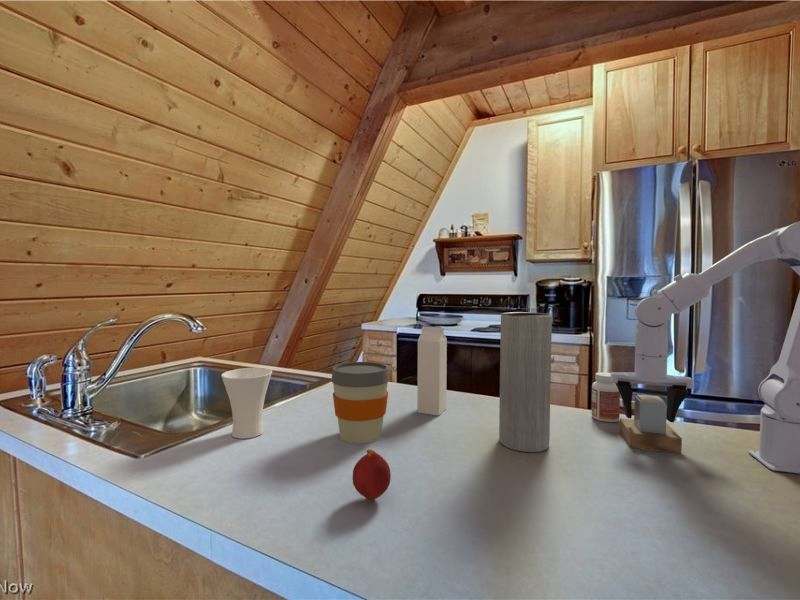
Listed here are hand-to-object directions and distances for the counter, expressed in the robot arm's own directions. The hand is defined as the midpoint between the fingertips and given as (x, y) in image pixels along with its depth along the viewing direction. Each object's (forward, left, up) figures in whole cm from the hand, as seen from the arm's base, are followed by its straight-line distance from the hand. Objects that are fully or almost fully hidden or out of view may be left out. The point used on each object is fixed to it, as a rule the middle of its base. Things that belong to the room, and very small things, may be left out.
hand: (649, 418), depth 82 cm
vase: (+25, +9, -5) cm, 27 cm away
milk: (+48, -5, -5) cm, 49 cm away
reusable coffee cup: (+59, +16, -5) cm, 61 cm away
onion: (+47, +39, -5) cm, 61 cm away
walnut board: (0, 0, -5) cm, 5 cm away
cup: (+83, +23, -5) cm, 86 cm away
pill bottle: (+6, -13, -5) cm, 15 cm away
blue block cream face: (0, 0, -2) cm, 2 cm away
